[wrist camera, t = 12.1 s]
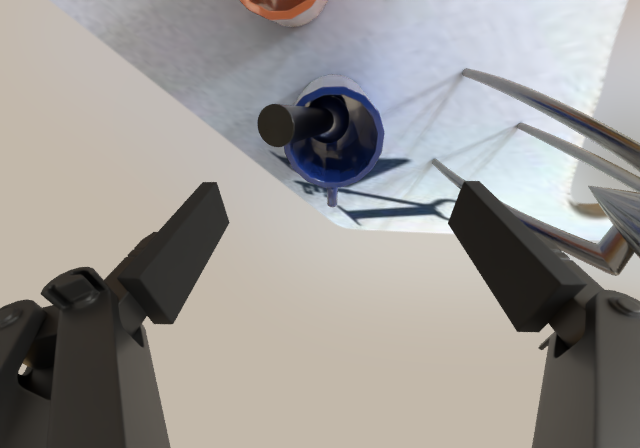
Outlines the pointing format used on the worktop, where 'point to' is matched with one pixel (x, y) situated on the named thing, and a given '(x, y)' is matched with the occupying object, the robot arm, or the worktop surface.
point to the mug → (348, 152)
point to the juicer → (620, 206)
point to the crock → (286, 10)
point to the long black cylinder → (304, 122)
